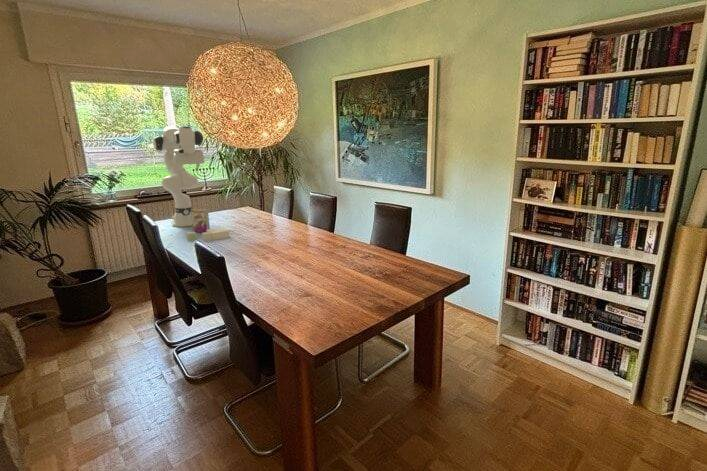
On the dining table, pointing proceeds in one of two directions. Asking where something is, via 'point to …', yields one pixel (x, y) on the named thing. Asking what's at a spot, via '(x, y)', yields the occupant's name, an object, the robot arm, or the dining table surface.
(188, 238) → the green cube
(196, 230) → the candy bar box
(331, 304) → the dining table surface
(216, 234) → the base block
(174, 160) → the robot arm
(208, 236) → the beige cube
